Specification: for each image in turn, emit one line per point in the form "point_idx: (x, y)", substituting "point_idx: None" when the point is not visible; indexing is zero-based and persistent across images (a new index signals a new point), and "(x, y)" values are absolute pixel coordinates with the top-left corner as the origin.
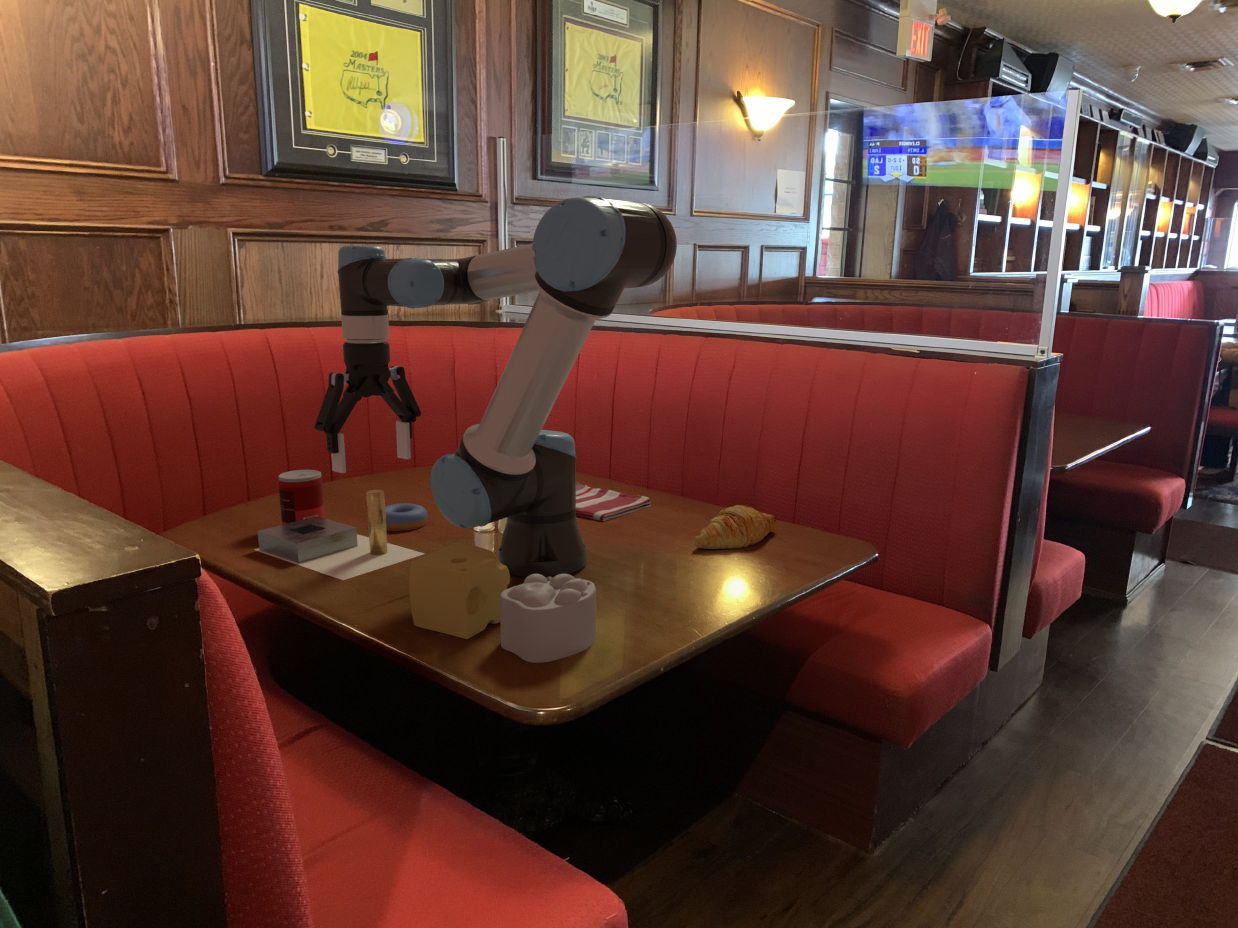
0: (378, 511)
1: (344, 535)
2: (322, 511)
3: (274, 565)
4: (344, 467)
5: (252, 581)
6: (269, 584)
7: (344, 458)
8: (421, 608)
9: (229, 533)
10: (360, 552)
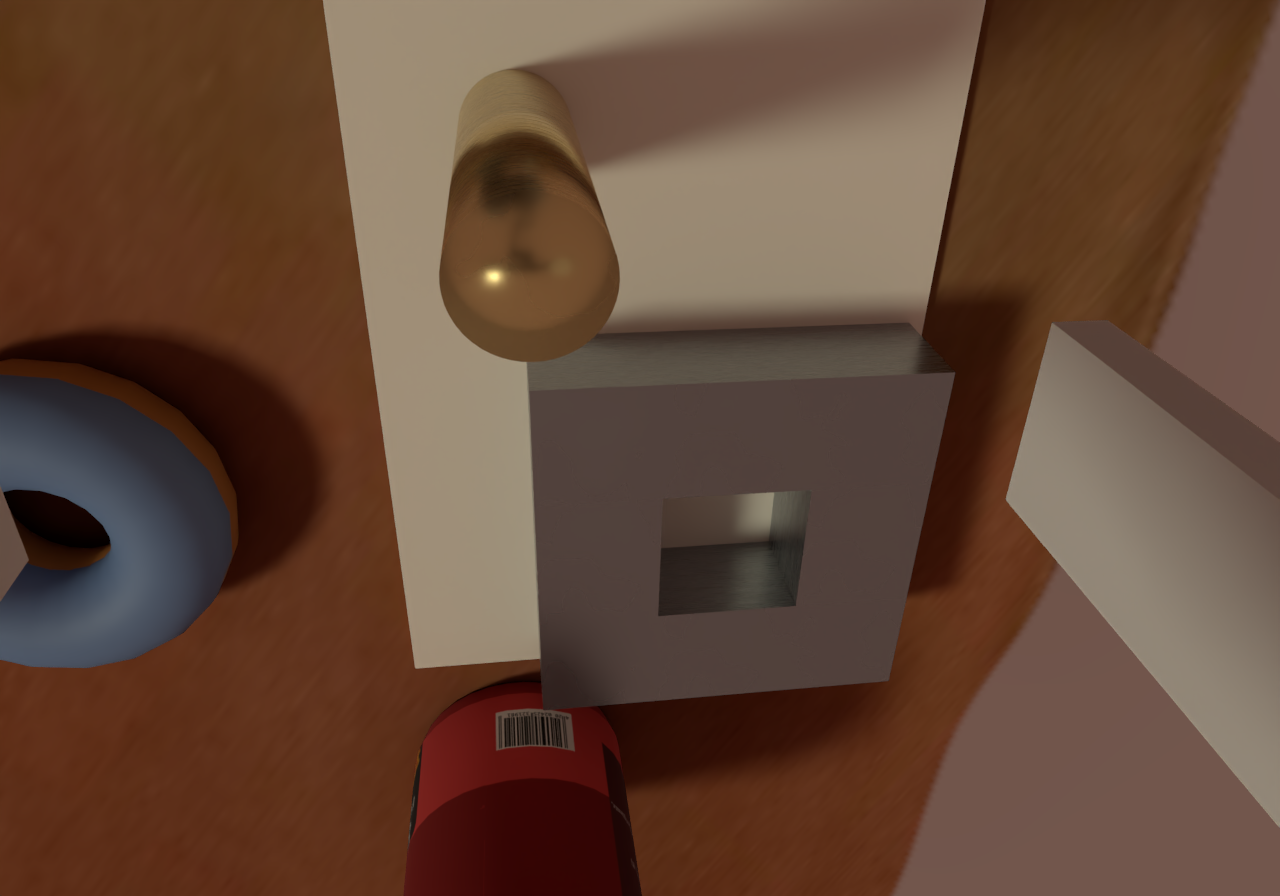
0: (553, 150)
1: (622, 371)
2: (450, 772)
3: (955, 407)
4: (1110, 350)
5: (1174, 281)
6: (1183, 175)
7: (1176, 414)
8: None
9: (747, 859)
10: None
